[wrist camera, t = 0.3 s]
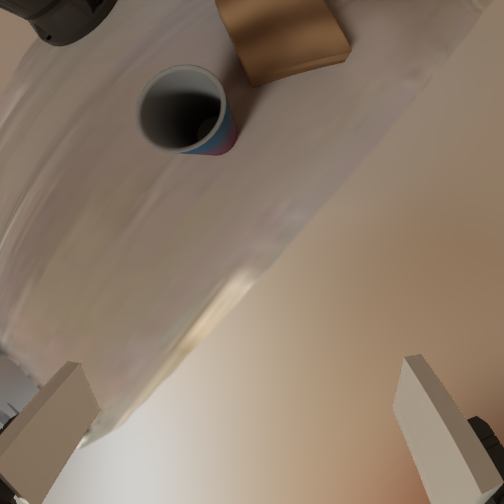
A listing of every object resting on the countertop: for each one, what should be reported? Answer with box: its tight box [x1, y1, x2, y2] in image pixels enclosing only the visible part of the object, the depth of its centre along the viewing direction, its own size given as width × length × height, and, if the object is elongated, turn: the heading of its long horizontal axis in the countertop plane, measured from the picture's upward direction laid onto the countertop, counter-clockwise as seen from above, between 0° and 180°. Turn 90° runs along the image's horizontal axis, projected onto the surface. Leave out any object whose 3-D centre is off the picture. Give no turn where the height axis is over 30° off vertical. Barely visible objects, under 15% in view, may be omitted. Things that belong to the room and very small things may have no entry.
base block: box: [215, 0, 352, 88], centre depth 28 cm, size 12×12×4 cm
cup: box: [136, 65, 237, 155], centre depth 26 cm, size 7×7×15 cm
